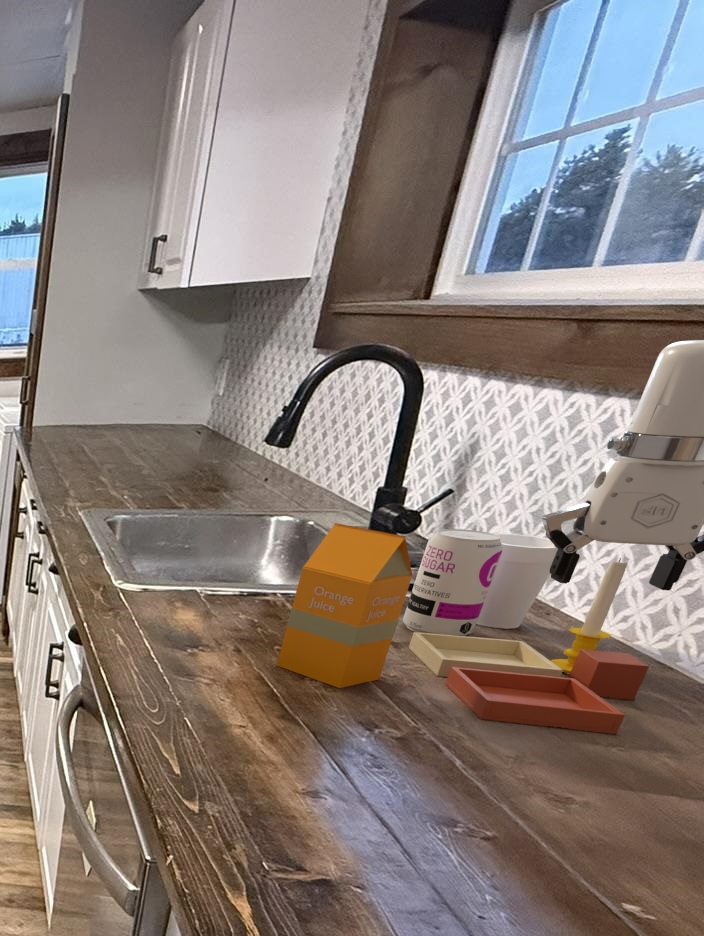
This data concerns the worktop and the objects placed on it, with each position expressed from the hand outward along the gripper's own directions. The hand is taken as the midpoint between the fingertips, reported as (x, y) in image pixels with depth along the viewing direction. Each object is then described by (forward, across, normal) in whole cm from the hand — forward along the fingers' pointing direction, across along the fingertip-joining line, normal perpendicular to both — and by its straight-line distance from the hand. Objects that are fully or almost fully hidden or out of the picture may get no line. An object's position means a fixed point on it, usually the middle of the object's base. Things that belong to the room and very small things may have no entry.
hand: (608, 583), depth 107 cm
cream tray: (+12, -11, -2) cm, 16 cm away
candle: (+12, 0, 0) cm, 12 cm away
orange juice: (+12, -30, -11) cm, 34 cm away
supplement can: (+12, -11, +13) cm, 21 cm away
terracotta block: (+12, 0, -8) cm, 14 cm away
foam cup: (+12, -2, +20) cm, 24 cm away
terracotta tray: (+12, -11, -16) cm, 23 cm away
